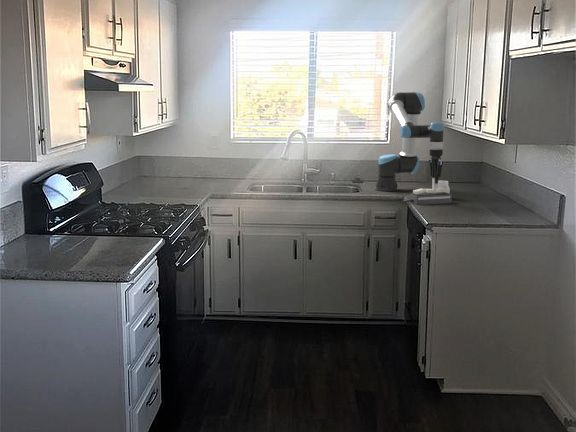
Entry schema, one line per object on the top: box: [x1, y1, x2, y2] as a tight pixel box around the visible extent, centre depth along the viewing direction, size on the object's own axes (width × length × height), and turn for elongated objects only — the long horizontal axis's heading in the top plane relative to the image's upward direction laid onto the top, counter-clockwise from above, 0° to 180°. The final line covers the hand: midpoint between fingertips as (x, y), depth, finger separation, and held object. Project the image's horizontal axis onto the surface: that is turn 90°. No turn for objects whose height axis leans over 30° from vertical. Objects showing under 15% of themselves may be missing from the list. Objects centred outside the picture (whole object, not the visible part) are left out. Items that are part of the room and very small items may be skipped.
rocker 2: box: [425, 188, 438, 193], centre depth 383 cm, size 5×6×2 cm
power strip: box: [402, 192, 453, 206], centre depth 383 cm, size 9×29×5 cm, turn 106°
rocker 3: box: [436, 188, 449, 193], centre depth 386 cm, size 5×6×2 cm
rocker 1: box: [412, 187, 427, 194], centre depth 381 cm, size 5×6×2 cm
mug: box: [437, 179, 451, 194], centre depth 399 cm, size 12×8×10 cm
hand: (435, 188), depth 384 cm, fingers closed, pressing on rocker 2
